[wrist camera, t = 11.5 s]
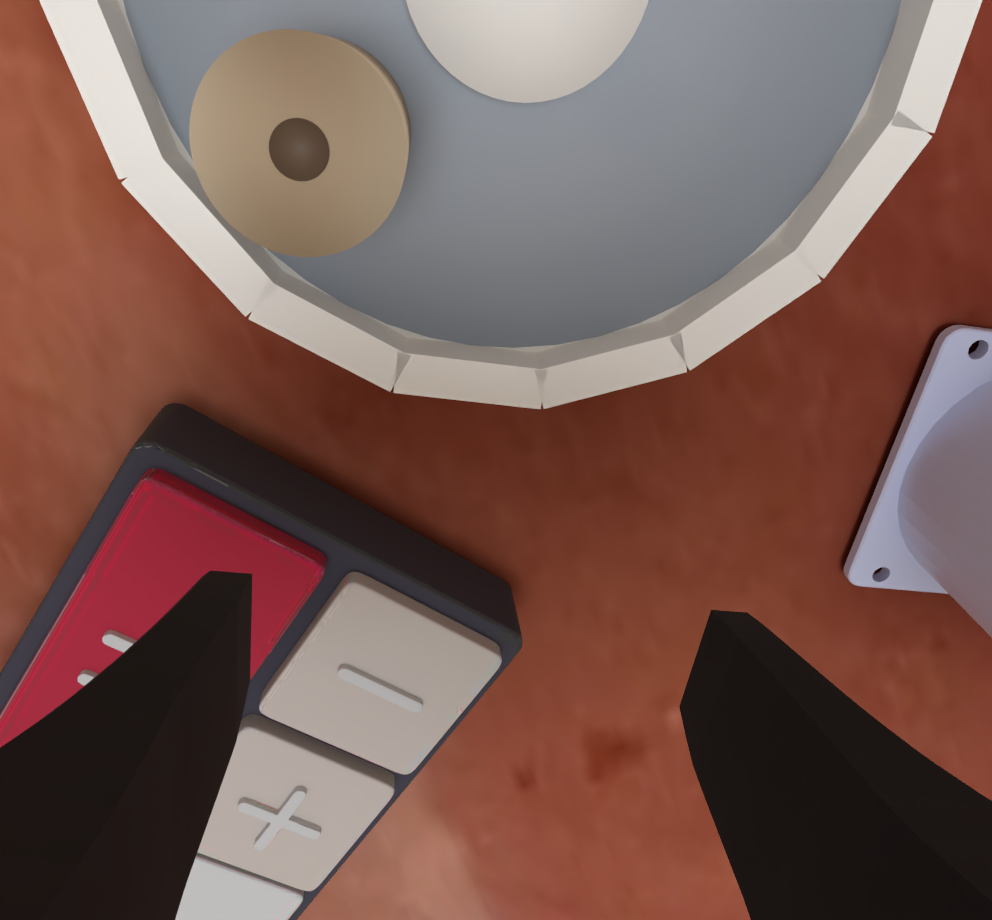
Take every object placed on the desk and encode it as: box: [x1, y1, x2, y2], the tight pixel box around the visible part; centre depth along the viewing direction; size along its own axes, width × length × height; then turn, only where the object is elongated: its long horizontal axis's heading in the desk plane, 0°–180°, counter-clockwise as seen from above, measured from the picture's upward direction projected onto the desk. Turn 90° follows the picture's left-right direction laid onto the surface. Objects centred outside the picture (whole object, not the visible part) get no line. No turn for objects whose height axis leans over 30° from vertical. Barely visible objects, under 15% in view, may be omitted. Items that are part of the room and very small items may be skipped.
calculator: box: [0, 403, 522, 920], centre depth 23 cm, size 11×4×15 cm
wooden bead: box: [189, 29, 411, 257], centre depth 15 cm, size 4×4×4 cm
